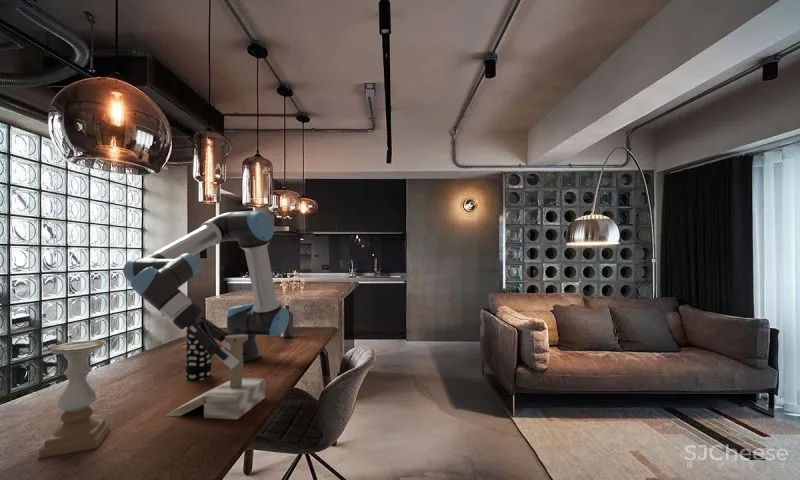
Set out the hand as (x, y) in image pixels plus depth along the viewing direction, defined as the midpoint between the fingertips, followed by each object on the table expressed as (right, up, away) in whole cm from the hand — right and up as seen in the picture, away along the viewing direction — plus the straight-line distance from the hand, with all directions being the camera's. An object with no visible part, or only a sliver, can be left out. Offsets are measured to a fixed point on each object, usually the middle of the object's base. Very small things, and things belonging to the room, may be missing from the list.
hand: (237, 359), depth 116 cm
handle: (-1, -8, 0) cm, 8 cm away
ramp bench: (-6, -16, 0) cm, 17 cm away
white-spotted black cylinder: (-26, -15, +27) cm, 41 cm away
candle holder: (-30, -14, -22) cm, 40 cm away
